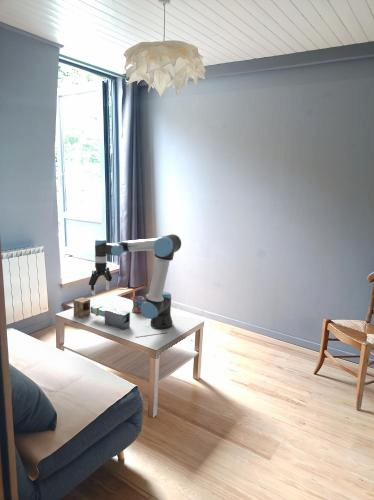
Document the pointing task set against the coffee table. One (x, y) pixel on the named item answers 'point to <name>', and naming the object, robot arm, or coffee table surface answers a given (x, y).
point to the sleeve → (117, 318)
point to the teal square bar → (101, 311)
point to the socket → (81, 307)
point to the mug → (137, 303)
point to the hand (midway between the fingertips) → (100, 292)
